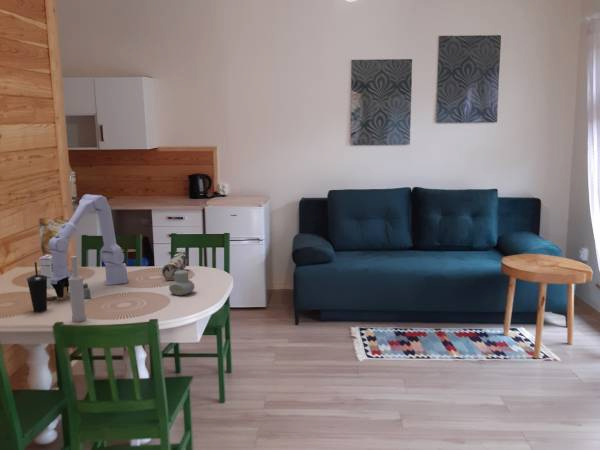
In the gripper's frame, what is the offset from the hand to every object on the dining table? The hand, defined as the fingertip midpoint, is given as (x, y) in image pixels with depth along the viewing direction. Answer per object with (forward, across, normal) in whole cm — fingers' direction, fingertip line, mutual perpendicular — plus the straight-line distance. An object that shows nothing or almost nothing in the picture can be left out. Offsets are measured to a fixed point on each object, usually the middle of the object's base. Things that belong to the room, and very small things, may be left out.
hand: (62, 295), depth 241 cm
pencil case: (+2, +36, -40) cm, 54 cm away
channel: (+1, +4, -7) cm, 8 cm away
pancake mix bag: (+2, +40, +21) cm, 45 cm away
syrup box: (+2, +19, +14) cm, 23 cm away
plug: (+1, -1, +2) cm, 3 cm away
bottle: (+2, -26, -18) cm, 31 cm away
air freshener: (+2, +7, -50) cm, 51 cm away
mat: (+1, +10, +3) cm, 10 cm away
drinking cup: (+2, -15, +3) cm, 15 cm away
